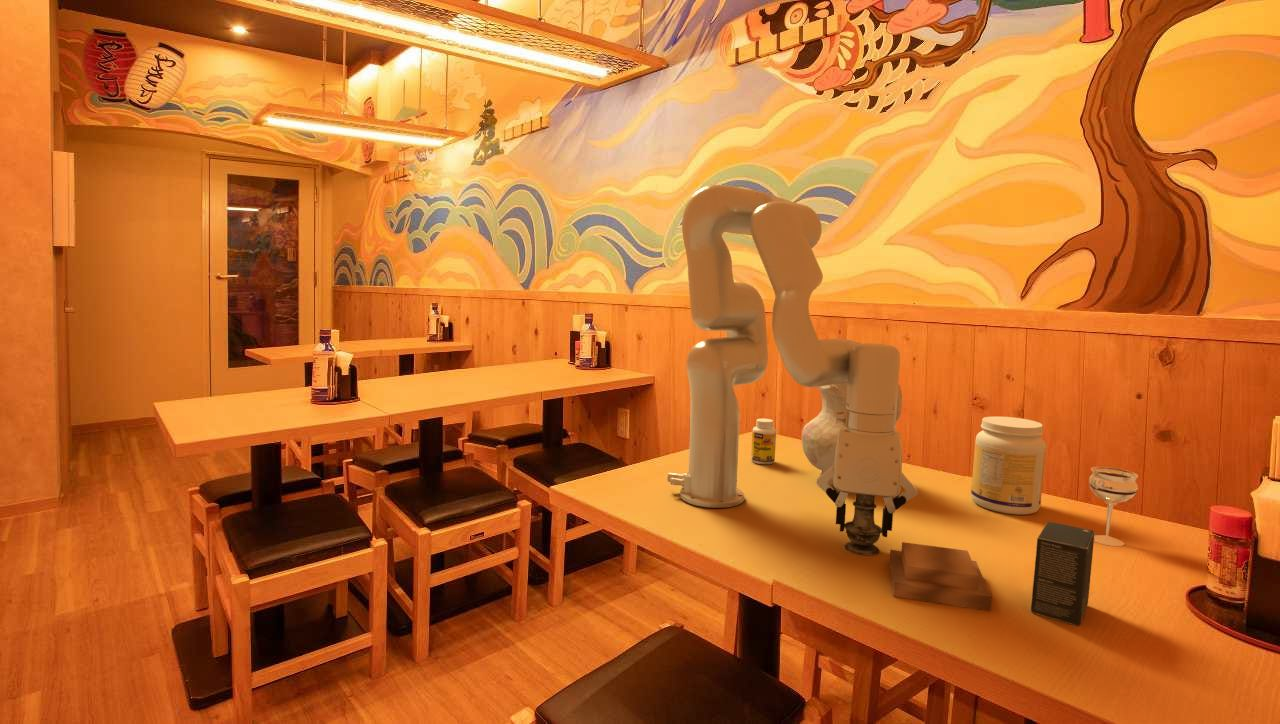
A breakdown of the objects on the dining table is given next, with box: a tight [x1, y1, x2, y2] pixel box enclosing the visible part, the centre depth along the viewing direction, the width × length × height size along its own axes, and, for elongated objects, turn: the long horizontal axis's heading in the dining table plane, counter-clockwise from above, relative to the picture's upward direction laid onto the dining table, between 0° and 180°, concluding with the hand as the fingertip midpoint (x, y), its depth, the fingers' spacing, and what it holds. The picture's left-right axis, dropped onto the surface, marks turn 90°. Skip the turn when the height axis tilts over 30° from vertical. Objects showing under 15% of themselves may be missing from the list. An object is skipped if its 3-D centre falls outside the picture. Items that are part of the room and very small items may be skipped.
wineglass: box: [1088, 466, 1139, 547], centre depth 113 cm, size 7×7×12 cm
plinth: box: [888, 541, 993, 612], centre depth 95 cm, size 12×12×4 cm
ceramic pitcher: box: [801, 382, 903, 487], centre depth 143 cm, size 22×20×25 cm
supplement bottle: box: [750, 418, 777, 466], centre depth 158 cm, size 6×6×10 cm
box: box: [1030, 521, 1095, 627], centre depth 89 cm, size 8×6×11 cm
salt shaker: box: [844, 494, 882, 556], centre depth 107 cm, size 6×6×12 cm
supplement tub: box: [970, 416, 1047, 516], centre depth 130 cm, size 12×12×17 cm
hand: (863, 530), depth 108 cm, fingers closed on salt shaker, 5 cm apart
